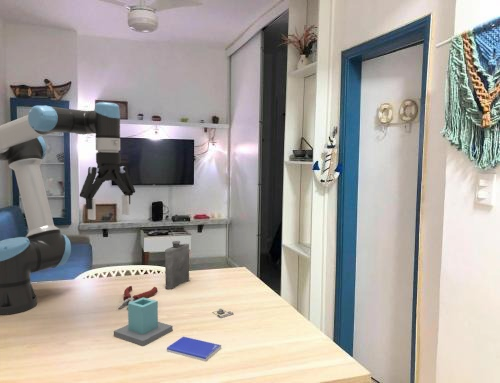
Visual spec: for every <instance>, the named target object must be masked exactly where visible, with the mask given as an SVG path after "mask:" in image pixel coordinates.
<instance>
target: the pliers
mask: <svg viewBox="0 0 500 383" xmlns="http://www.w3.org/2000/svg"><path fill="white" fill-rule="evenodd" d="M131 292H133V286H132V285H129V286H127V287H126V288H125V289H124V292H123V293H124V294H123V295H124V296H123V300H122V301H123V302H122V303H121V304H120V305H119V307H118V310H120V309H122V308H125V307H126V309H127V310H128V303H130V302H133V301H135V300H138V299H140V298H143V297H144V298H147V299H150V298H151V297H154V296H155V295H156V294H157V292H158V287H156V286H153V288H151V289H150V290H148V291H147V290H146V291H144V292H141V293H138V294H135V295H133V296H132V295H131Z"/></svg>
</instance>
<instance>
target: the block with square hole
mask: <svg viewBox="0 0 500 383" xmlns="http://www.w3.org/2000/svg"><path fill="white" fill-rule="evenodd" d="M127 306H128V309H127V312H128V313H127V315H128V316H127V319H128V321H127V323H128V324H127V325H128V330H131V331H134V332H137V333H140V334H145V333H147V332H149V331H151V330H153V329H155V328H157V327H158V322H159V320H158V319H159V316H158V315H159V312H158V308H159V304H158V300H155V299H151V298H144V297H143V298H140V299H138V300H135V301H133V302H130V303H128V304H127Z"/></svg>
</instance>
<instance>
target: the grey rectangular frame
mask: <svg viewBox="0 0 500 383" xmlns="http://www.w3.org/2000/svg"><path fill="white" fill-rule="evenodd" d="M211 313H212V314H213V315H215V316H216V317H217V318H220V319H223V318H224V319H225V318H226V317H229V316H233V315H234V312H232V311H226V310H224V309H222V308H219V309H218V310H216V311H213V312H211Z"/></svg>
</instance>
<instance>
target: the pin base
mask: <svg viewBox="0 0 500 383" xmlns="http://www.w3.org/2000/svg"><path fill="white" fill-rule="evenodd" d="M172 331H173V325H171V324H167V323H164V322H161V321H158V327H157V328H155V329H153V330H151V331H149V332H147V333H145V334H140V333H137V332H134V331H131V330H128V324H127V325H124V326H122V327H120V328H117V329H115V330H113V337H116V338H119V339H121V340H125V341H127V342H130V343H132V344H136V345H139V346H141V347H144V346H146V345H147V344H149V343H152V342H154V341H156V340H158V339H160V338H162V337H163V336H165V335H167V334H169V333H171V332H172ZM161 336H162V337H161ZM159 337H160V338H159Z"/></svg>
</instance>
